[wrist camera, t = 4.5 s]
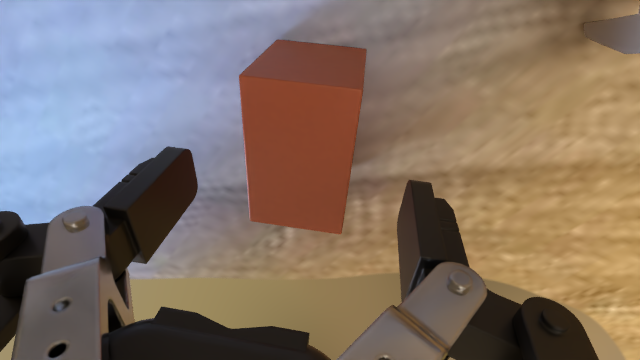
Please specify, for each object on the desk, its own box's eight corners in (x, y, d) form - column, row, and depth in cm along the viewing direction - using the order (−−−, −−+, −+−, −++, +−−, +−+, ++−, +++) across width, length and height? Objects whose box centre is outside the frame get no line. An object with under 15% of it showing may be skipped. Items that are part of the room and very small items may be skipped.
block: (277, 159, 20) (249, 221, 16) (276, 39, 16) (237, 74, 12) (349, 169, 20) (341, 235, 15) (366, 48, 16) (363, 89, 11)
